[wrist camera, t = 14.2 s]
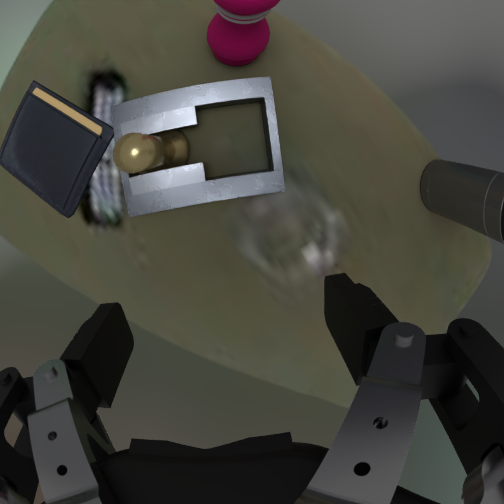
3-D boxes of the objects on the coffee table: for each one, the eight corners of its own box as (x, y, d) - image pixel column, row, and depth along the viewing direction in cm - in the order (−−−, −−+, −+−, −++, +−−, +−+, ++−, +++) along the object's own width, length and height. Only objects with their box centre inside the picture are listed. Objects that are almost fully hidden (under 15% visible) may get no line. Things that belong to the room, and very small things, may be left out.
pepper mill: (209, 25, 27) (202, -68, 8) (264, 26, 28) (302, -62, 9) (207, 70, 30) (193, -8, 11) (263, 70, 30) (308, -2, 12)
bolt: (185, 122, 32) (164, 106, 19) (192, 170, 34) (175, 182, 21) (138, 133, 31) (93, 126, 19) (145, 180, 34) (105, 198, 21)
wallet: (-9, 161, 27) (31, 75, 24) (-2, 159, 29) (37, 77, 26) (65, 226, 33) (116, 131, 30) (71, 222, 35) (121, 132, 32)
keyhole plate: (265, 83, 31) (270, 76, 27) (278, 186, 36) (284, 190, 32) (121, 110, 30) (110, 106, 26) (138, 210, 35) (129, 217, 32)
